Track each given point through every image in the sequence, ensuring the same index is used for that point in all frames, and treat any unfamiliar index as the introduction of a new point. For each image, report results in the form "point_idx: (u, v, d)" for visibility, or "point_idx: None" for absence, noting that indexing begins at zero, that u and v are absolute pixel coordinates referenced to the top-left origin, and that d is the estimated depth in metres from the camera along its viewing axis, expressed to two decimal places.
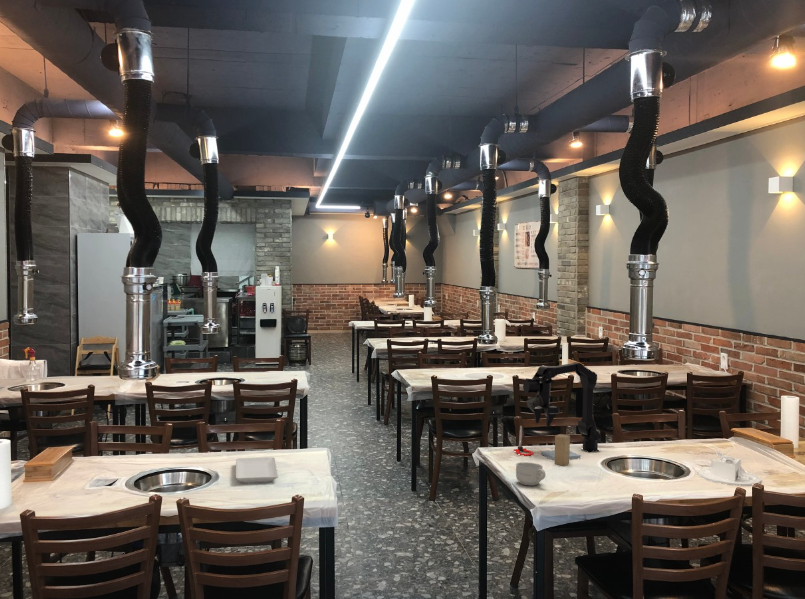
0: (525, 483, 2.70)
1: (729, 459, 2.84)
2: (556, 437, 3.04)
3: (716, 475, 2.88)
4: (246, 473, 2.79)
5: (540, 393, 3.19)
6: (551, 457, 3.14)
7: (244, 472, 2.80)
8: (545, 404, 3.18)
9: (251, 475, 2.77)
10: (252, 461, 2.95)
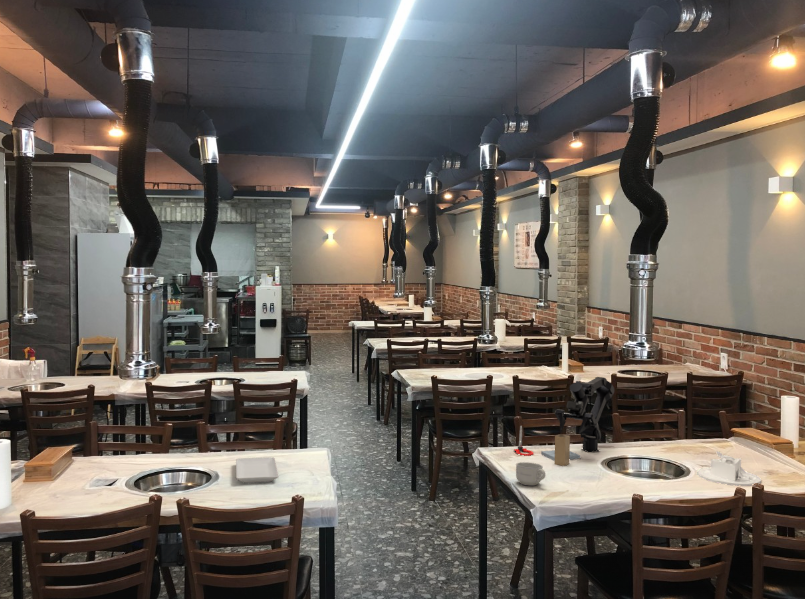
0: (525, 483, 2.70)
1: (729, 459, 2.84)
2: (556, 437, 3.04)
3: (716, 475, 2.88)
4: (246, 473, 2.79)
5: None
6: (551, 457, 3.14)
7: (244, 472, 2.80)
8: (581, 413, 3.15)
9: (251, 475, 2.77)
10: (252, 461, 2.95)
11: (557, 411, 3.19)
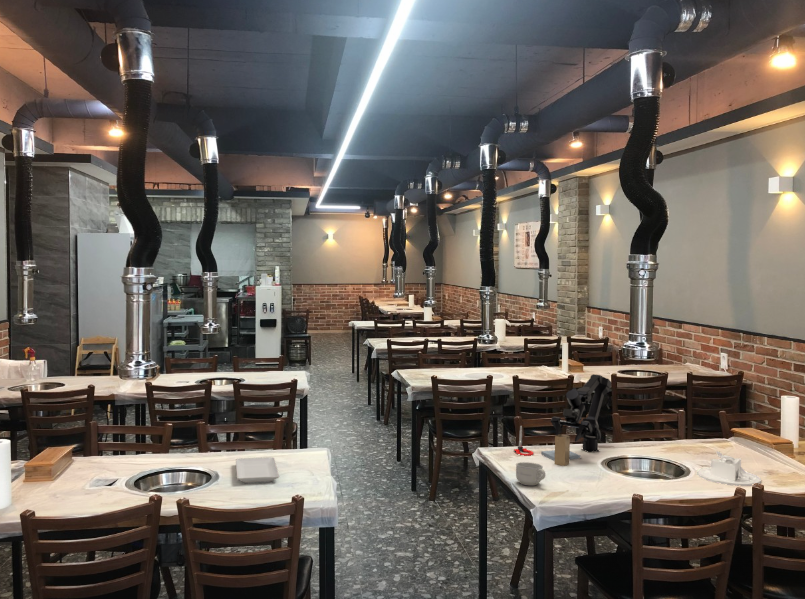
0: (525, 483, 2.70)
1: (729, 459, 2.84)
2: (556, 437, 3.04)
3: (716, 475, 2.88)
4: (246, 473, 2.79)
5: None
6: (551, 457, 3.14)
7: (244, 472, 2.80)
8: (577, 421, 3.12)
9: (252, 475, 2.77)
10: (252, 461, 2.95)
11: (553, 419, 3.16)
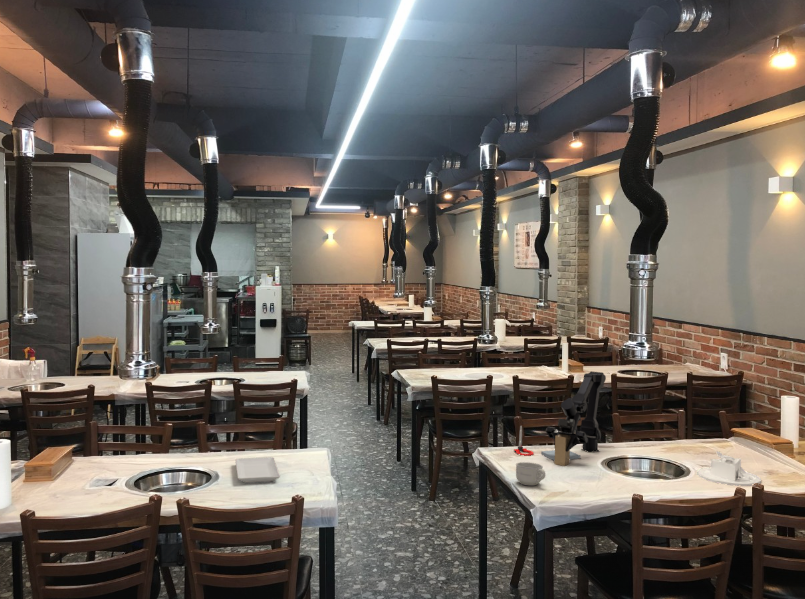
0: (525, 483, 2.70)
1: (729, 459, 2.84)
2: (556, 437, 3.04)
3: (716, 475, 2.88)
4: (247, 473, 2.79)
5: None
6: (551, 457, 3.14)
7: (245, 472, 2.80)
8: (573, 431, 3.08)
9: (252, 475, 2.77)
10: (251, 461, 2.95)
11: (548, 429, 3.12)
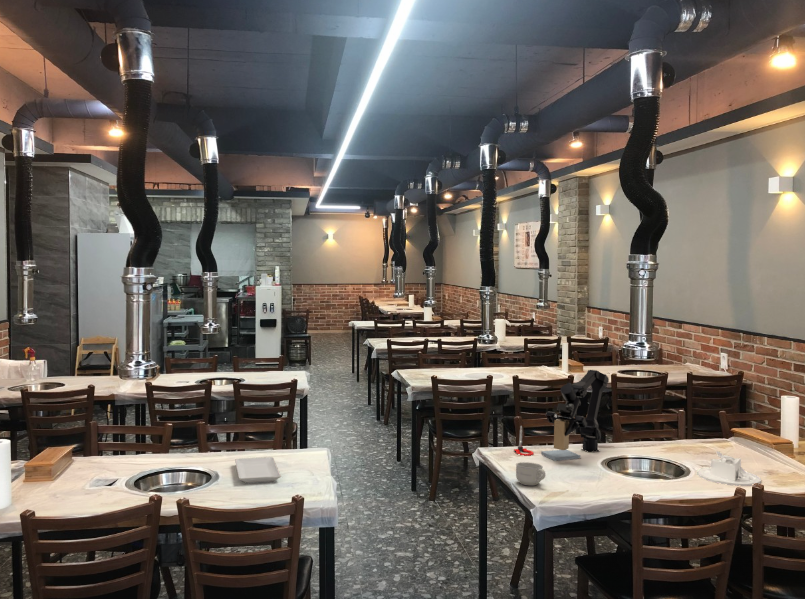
0: (525, 483, 2.70)
1: (729, 459, 2.84)
2: (555, 421, 3.06)
3: (716, 475, 2.88)
4: (247, 473, 2.79)
5: (571, 404, 3.11)
6: (551, 457, 3.14)
7: (245, 472, 2.80)
8: (572, 416, 3.09)
9: (253, 475, 2.77)
10: (251, 461, 2.95)
11: (548, 413, 3.13)
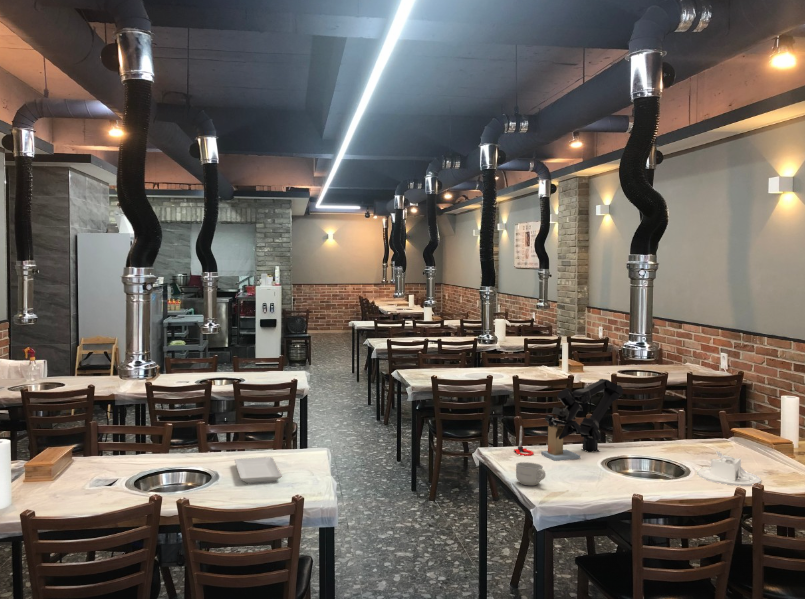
0: (525, 483, 2.70)
1: (729, 459, 2.84)
2: (549, 427, 3.18)
3: (716, 475, 2.88)
4: (248, 473, 2.79)
5: (568, 409, 3.21)
6: (551, 457, 3.14)
7: (245, 472, 2.80)
8: (568, 420, 3.18)
9: (253, 475, 2.77)
10: (250, 461, 2.95)
11: (547, 417, 3.25)
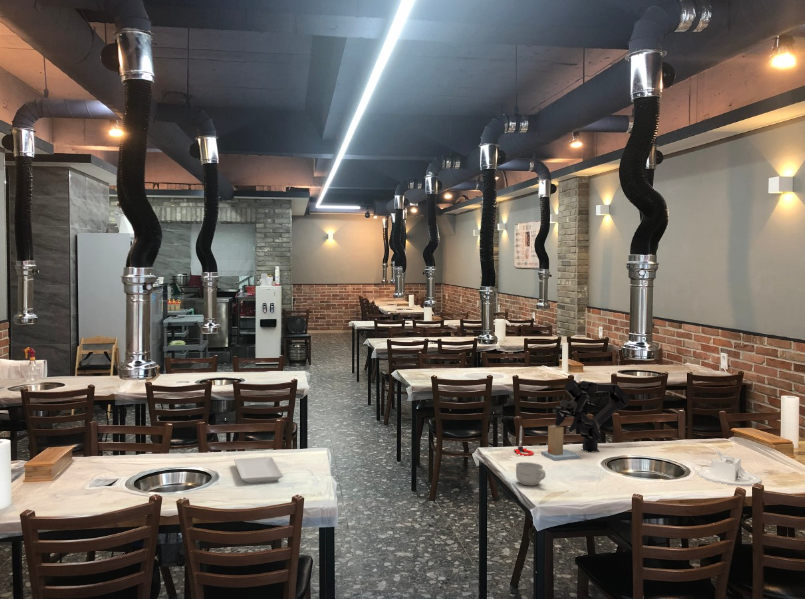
0: (525, 483, 2.70)
1: (729, 459, 2.84)
2: (549, 427, 3.18)
3: (716, 475, 2.88)
4: (248, 473, 2.79)
5: (576, 400, 3.24)
6: (551, 457, 3.14)
7: (246, 472, 2.80)
8: (576, 411, 3.22)
9: (254, 475, 2.77)
10: (250, 461, 2.95)
11: (555, 409, 3.29)
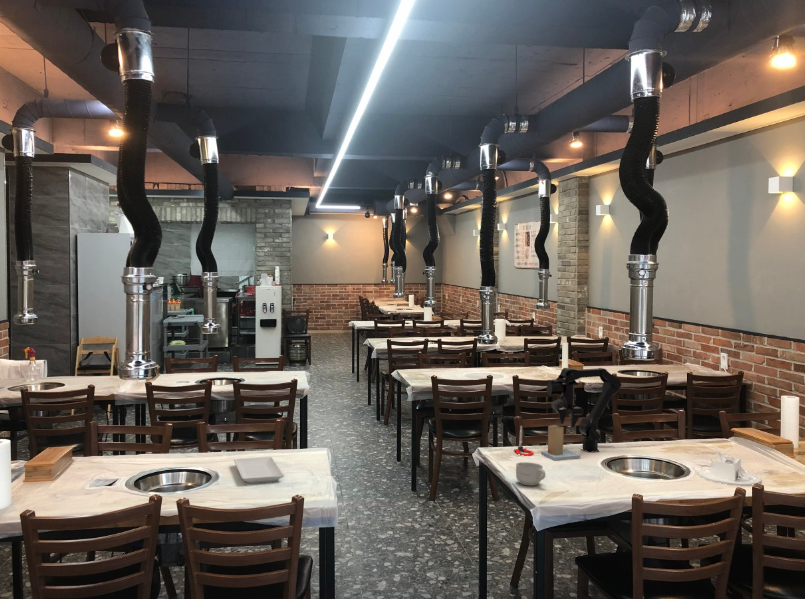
0: (525, 483, 2.70)
1: (729, 459, 2.84)
2: (549, 427, 3.18)
3: (716, 475, 2.88)
4: (248, 473, 2.79)
5: (564, 394, 3.26)
6: (551, 457, 3.14)
7: (246, 472, 2.80)
8: (569, 405, 3.25)
9: (254, 475, 2.77)
10: (250, 461, 2.95)
11: None
